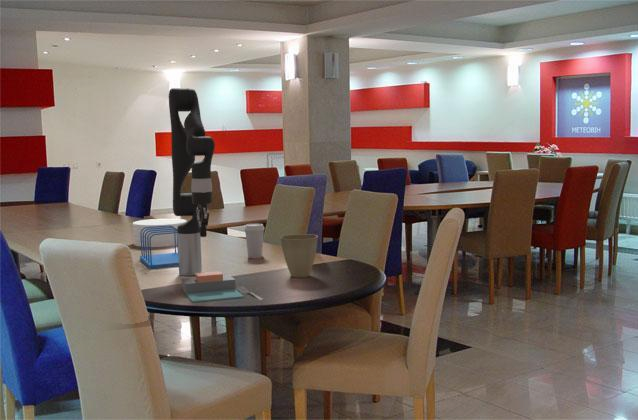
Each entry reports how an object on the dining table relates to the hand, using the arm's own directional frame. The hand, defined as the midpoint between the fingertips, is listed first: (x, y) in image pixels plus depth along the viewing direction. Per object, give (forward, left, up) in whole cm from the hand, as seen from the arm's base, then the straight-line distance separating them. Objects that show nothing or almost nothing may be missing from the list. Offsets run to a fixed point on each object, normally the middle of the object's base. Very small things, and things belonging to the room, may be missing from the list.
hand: (203, 236), depth 260 cm
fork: (+22, +13, -20) cm, 32 cm away
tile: (+8, 0, -14) cm, 16 cm away
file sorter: (-57, -7, -19) cm, 61 cm away
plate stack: (-117, -1, -19) cm, 118 cm away
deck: (+6, 0, -19) cm, 20 cm away
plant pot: (-4, +39, -19) cm, 44 cm away
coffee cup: (-54, +34, -19) cm, 66 cm away
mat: (+18, 0, -19) cm, 26 cm away
